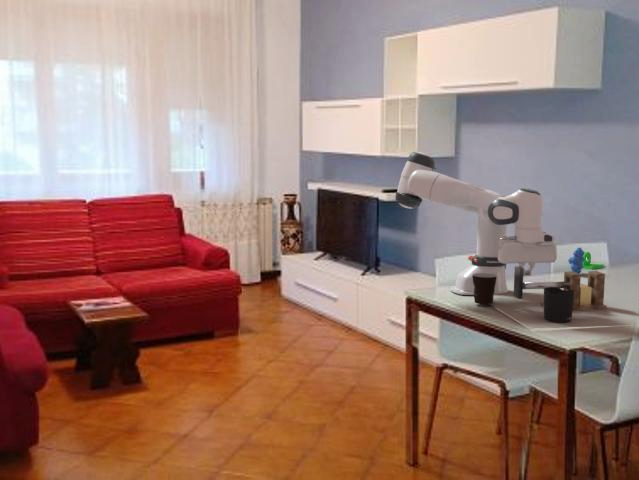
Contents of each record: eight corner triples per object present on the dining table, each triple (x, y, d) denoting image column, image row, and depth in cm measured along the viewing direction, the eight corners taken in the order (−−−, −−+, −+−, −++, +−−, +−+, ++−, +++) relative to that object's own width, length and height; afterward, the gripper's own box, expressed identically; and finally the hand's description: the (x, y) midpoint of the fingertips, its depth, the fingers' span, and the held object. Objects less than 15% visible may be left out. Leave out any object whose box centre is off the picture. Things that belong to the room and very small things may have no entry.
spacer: (579, 305, 250) (580, 287, 249) (571, 301, 256) (572, 284, 256) (590, 305, 251) (591, 287, 250) (581, 301, 257) (582, 283, 256)
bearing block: (552, 310, 248) (553, 275, 246) (540, 304, 256) (542, 271, 255) (606, 309, 250) (608, 274, 249) (593, 303, 259) (595, 270, 257)
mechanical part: (591, 271, 326) (592, 253, 325) (579, 269, 331) (580, 252, 330) (606, 268, 334) (606, 251, 333) (594, 266, 338) (595, 249, 337)
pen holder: (549, 323, 230) (551, 293, 228) (538, 316, 239) (539, 287, 238) (577, 323, 231) (579, 292, 229) (565, 316, 240) (566, 286, 239)
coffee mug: (491, 306, 254) (492, 278, 253) (467, 303, 259) (468, 275, 258) (501, 300, 264) (502, 273, 263) (479, 297, 269) (479, 271, 267)
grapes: (571, 271, 323) (573, 245, 321) (587, 273, 319) (588, 246, 317) (562, 275, 314) (563, 248, 312) (578, 277, 310) (579, 249, 308)
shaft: (519, 298, 248) (520, 268, 246) (513, 295, 252) (514, 266, 251) (573, 297, 250) (574, 267, 249) (566, 294, 255) (568, 265, 254)
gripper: (502, 237, 243) (501, 277, 245) (559, 236, 246) (557, 276, 248) (495, 235, 249) (494, 274, 251) (551, 234, 252) (549, 273, 254)
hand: (526, 275), depth 249 cm, fingers closed
